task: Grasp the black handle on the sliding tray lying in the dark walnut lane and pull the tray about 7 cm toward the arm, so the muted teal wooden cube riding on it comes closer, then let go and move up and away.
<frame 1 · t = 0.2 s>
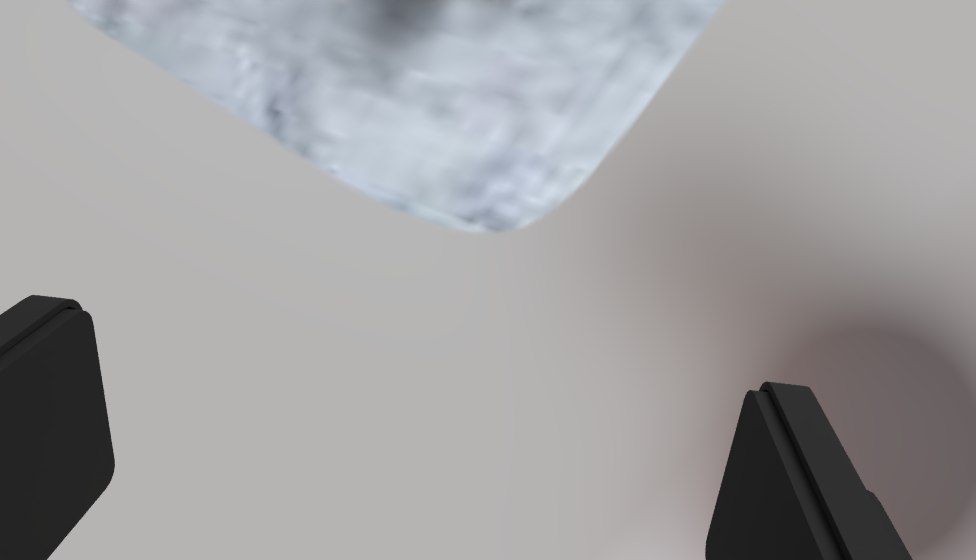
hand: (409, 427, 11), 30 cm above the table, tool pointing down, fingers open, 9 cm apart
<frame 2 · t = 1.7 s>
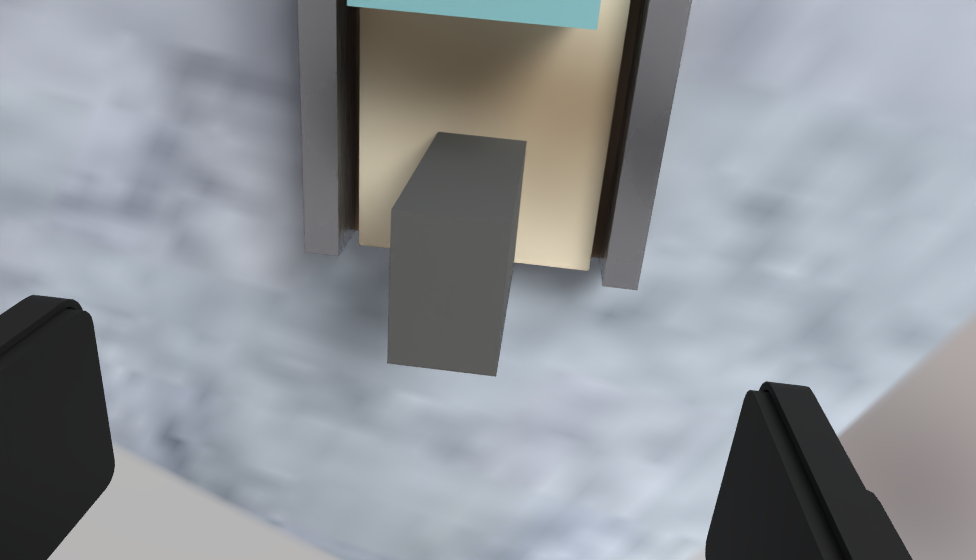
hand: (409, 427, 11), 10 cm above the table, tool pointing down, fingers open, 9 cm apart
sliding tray: (479, 61, 14), point 4 cm above the table, slide at 0.0 cm, touching cube
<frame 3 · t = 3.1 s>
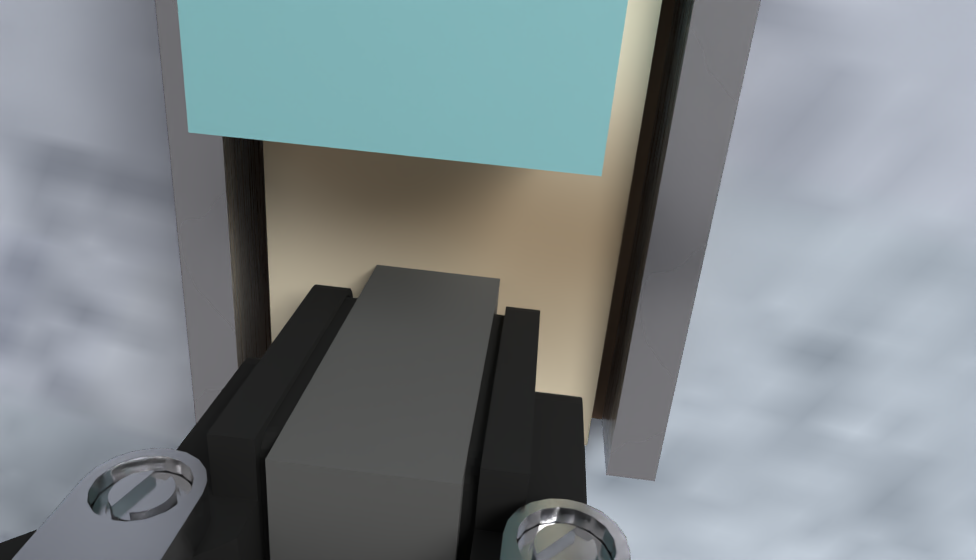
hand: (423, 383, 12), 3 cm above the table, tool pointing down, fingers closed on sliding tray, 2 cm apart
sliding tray: (421, 192, 9), point 4 cm above the table, slide at 0.0 cm, touching cube, gripper
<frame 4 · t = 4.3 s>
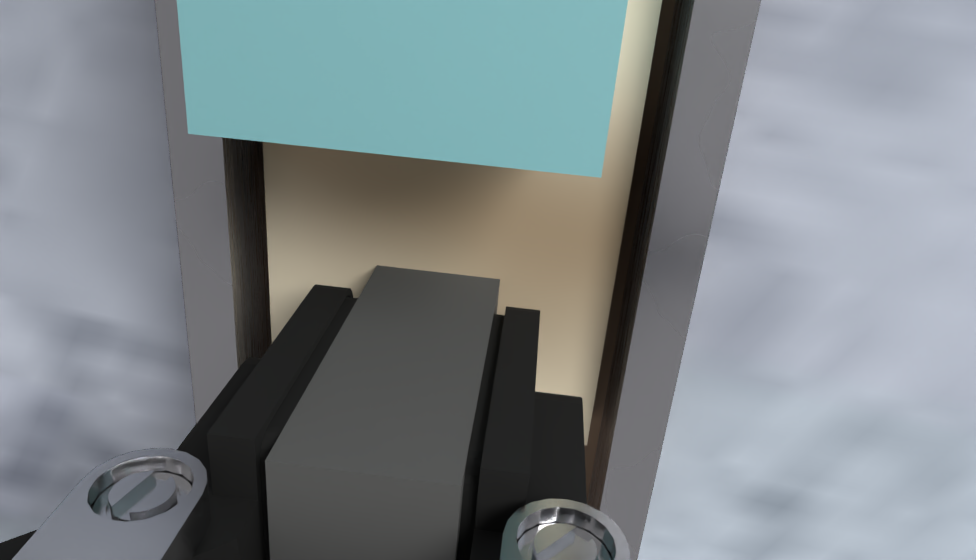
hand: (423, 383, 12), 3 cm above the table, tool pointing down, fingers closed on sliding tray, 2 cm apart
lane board: (461, 97, 13), on the table
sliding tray: (421, 193, 9), point 4 cm above the table, slide at 3.5 cm, touching cube, gripper
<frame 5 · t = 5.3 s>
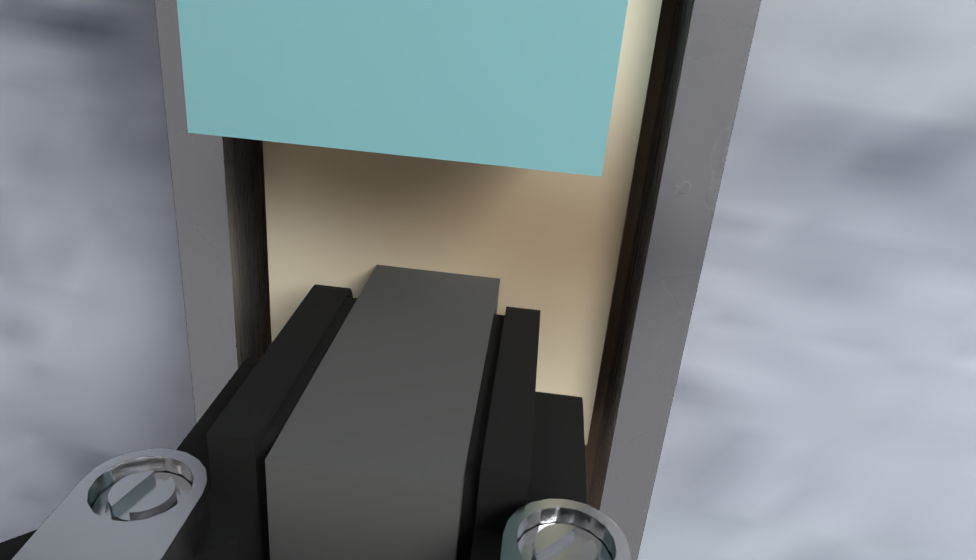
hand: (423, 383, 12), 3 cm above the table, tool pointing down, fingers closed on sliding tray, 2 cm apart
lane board: (449, 282, 14), on the table
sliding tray: (421, 193, 9), point 4 cm above the table, slide at 7.0 cm, touching cube, gripper
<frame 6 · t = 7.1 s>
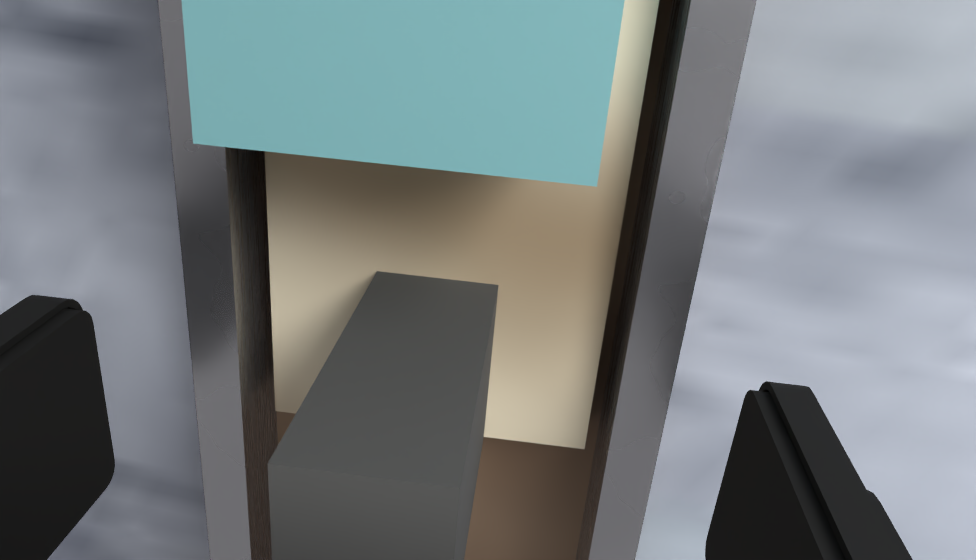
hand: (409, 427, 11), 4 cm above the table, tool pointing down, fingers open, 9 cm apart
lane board: (447, 289, 14), on the table
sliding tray: (421, 201, 9), point 4 cm above the table, slide at 7.0 cm, touching cube
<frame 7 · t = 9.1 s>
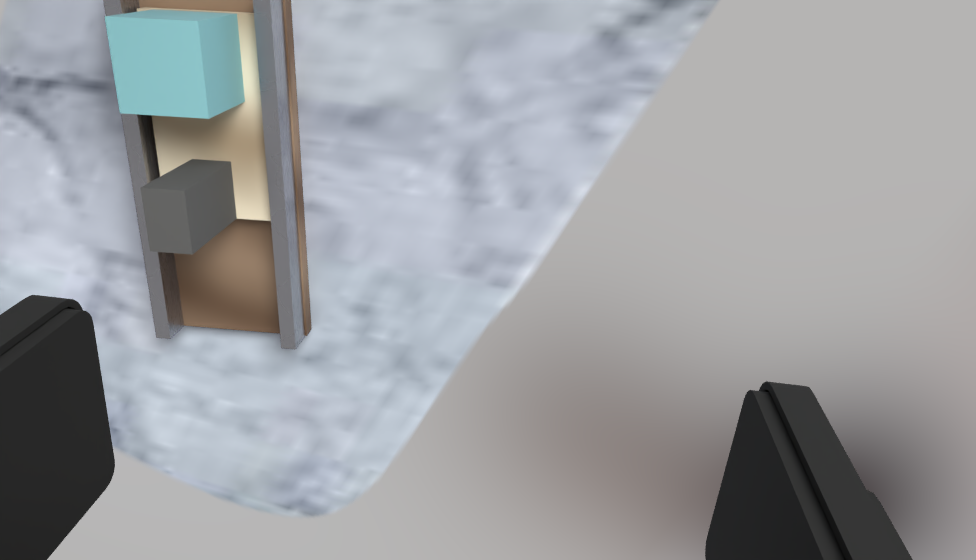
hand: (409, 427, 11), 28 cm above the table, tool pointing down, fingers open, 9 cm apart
cube: (199, 56, 35), point 2 cm above the table, touching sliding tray
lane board: (227, 170, 39), on the table
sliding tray: (187, 129, 35), point 4 cm above the table, slide at 7.0 cm, touching cube
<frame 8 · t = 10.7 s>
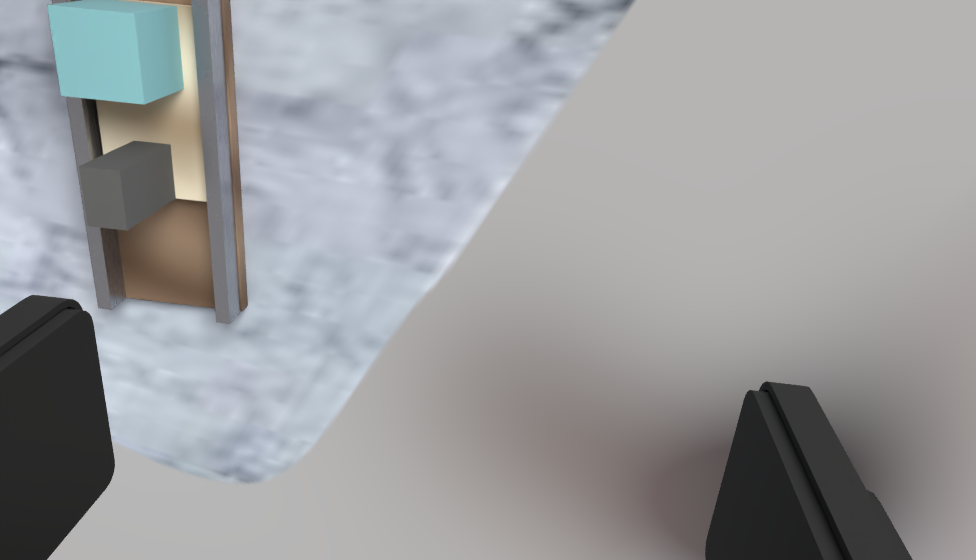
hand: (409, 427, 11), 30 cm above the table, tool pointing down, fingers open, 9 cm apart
cube: (141, 44, 38), point 2 cm above the table, touching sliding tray
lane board: (168, 152, 42), on the table
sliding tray: (126, 113, 37), point 4 cm above the table, slide at 7.0 cm, touching cube
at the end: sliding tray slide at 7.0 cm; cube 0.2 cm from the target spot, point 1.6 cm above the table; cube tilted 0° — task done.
